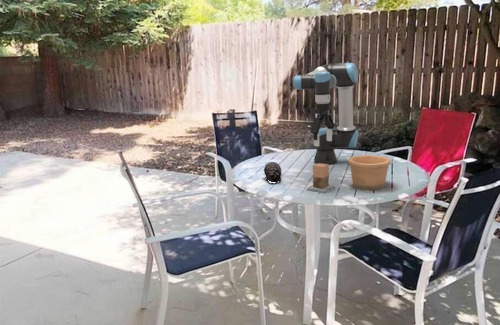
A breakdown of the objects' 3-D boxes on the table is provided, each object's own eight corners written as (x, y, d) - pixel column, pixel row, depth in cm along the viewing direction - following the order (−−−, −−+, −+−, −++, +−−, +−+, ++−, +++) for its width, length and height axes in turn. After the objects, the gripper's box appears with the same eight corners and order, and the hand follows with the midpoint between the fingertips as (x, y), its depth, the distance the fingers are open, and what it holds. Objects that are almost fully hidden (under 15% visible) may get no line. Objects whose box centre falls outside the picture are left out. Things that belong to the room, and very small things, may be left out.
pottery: (365, 194, 206) (366, 166, 203) (339, 183, 226) (339, 158, 222) (398, 187, 214) (400, 160, 211) (371, 177, 234) (371, 153, 230)
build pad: (306, 189, 217) (306, 187, 217) (316, 184, 225) (316, 182, 225) (325, 193, 210) (325, 191, 210) (335, 187, 218) (335, 185, 218)
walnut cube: (313, 187, 217) (312, 176, 215) (318, 184, 221) (318, 173, 220) (323, 189, 213) (323, 178, 212) (328, 186, 218) (328, 175, 216)
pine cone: (268, 185, 229) (268, 167, 226) (262, 176, 246) (261, 160, 243) (286, 183, 230) (286, 166, 228) (279, 175, 247) (278, 159, 245)
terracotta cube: (313, 176, 215) (312, 165, 214) (318, 173, 220) (318, 163, 219) (323, 178, 212) (323, 166, 210) (328, 175, 216) (328, 164, 215)
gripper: (317, 106, 197) (317, 149, 202) (340, 100, 216) (340, 139, 221) (303, 105, 202) (304, 147, 207) (327, 99, 220) (328, 138, 226)
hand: (323, 143), depth 214 cm, fingers open, 13 cm apart
